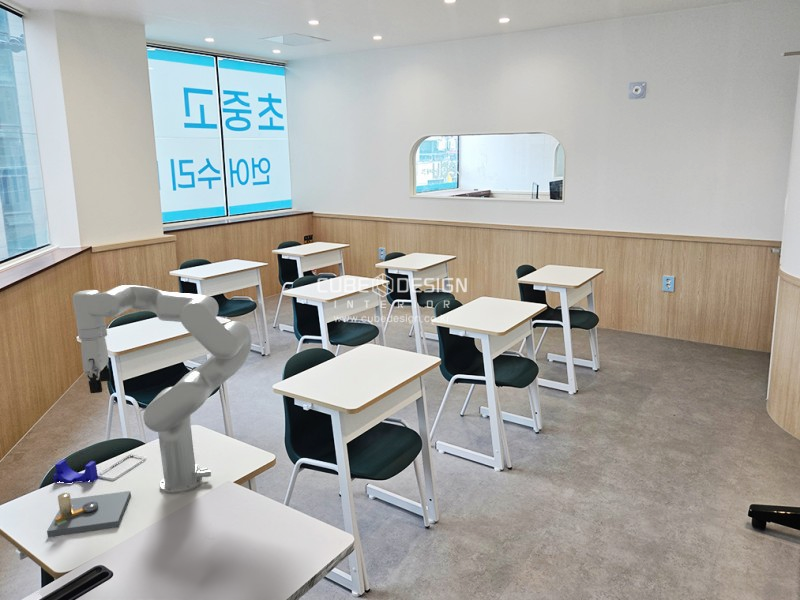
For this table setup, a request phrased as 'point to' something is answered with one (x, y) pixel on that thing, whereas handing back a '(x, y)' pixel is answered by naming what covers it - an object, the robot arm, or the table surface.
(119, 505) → the dial panel
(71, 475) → the blue cradle holder
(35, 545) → the table surface
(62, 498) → the dial lever
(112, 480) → the grey rectangular frame
